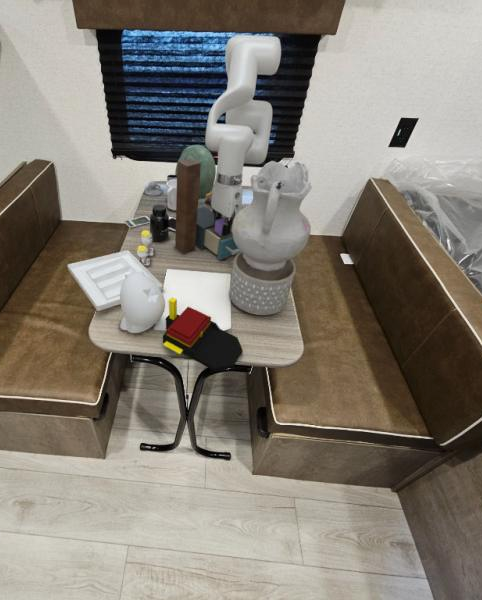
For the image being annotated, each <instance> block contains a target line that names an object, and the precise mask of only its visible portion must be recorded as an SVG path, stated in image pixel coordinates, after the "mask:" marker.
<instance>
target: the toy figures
mask: <svg viewBox="0 0 482 600" xmlns="http://www.w3.org/2000/svg"><path fill="white" fill-rule="evenodd" d="M140 235H141V236H140V241H141V243H142V244H141V245H138V246H137V247H136V254H137V256H138V257H139V259H140V260H139V262H141V264H142V265H143V266H145V267H149V266H150V265H151V262H150V261H151V259H150V258H149V257H153V256H154V248H153V247H152V246H151V245H152V243H153V236H152V232H150V230H147V229H143V230H142V231H141V232H140Z"/></svg>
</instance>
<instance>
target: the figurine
mask: <svg viewBox="0 0 482 600" xmlns="http://www.w3.org/2000/svg"><path fill="white" fill-rule="evenodd" d="M125 277H126V278H125V280H124V281H123V283H122V286H121V290H120V303H121V304H120V307H121V311H122V313H123V316H122V318H121V322H120V324H119V328H120V329H121V330H123V331H127V332H128V333H131V334H138V333H143V332H145V331H147V330H149V329H151V328H152V327H153V326H154V325H155V324H156V323H157V322H158V321H159V320H160V319H161V317H162V316H163V315H164V312H165V310H166V300H165V297H164V295H163V292H162V291H161V290H160V289H159V287H158V286H157V285H156V283H155V282H154V281H153V280H152V279H151V278H150V277H148V276H146V275H144V272H137V273H131V274H126V275H125Z"/></svg>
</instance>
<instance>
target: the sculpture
mask: <svg viewBox="0 0 482 600" xmlns="http://www.w3.org/2000/svg"><path fill="white" fill-rule="evenodd" d="M189 158H192V159H194V160H196V161H198V162H200V163H201V170H200V184H199V198H198V199H201V198H206V194H208V193H210V192H211V190H213V186H214V182H215V179H216V174H217V166H216V163H215V162H216V161H215V158H214V156H213V155H212V153H211V151H210V150H209V149H208V148H207V147H206V146H203V145H200V144H194V145H189V146H188V147H186V148H185V149H183V150H182V151H181V155H180V157H179V158H178V160H177V161H180V160H184V159H189ZM174 173H175V174H174V175H177V165H175V172H174Z"/></svg>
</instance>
